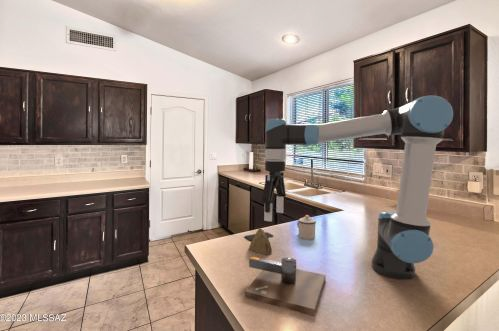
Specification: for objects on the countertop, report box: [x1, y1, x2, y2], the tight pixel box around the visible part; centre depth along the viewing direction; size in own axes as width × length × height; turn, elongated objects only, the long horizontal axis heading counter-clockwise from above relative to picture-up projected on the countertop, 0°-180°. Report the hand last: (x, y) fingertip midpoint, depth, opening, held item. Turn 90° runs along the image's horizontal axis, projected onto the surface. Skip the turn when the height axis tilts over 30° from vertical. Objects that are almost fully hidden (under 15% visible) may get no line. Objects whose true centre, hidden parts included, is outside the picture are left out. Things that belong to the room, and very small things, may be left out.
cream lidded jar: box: [296, 214, 316, 240], centre depth 141 cm, size 12×9×12 cm
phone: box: [243, 231, 274, 242], centre depth 139 cm, size 7×1×15 cm
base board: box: [244, 268, 326, 317], centre depth 89 cm, size 22×22×2 cm
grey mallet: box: [248, 256, 297, 284], centre depth 92 cm, size 17×5×8 cm, turn 66°
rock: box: [248, 228, 273, 255], centre depth 119 cm, size 11×9×10 cm
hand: (274, 216), depth 99 cm, fingers open, 12 cm apart
